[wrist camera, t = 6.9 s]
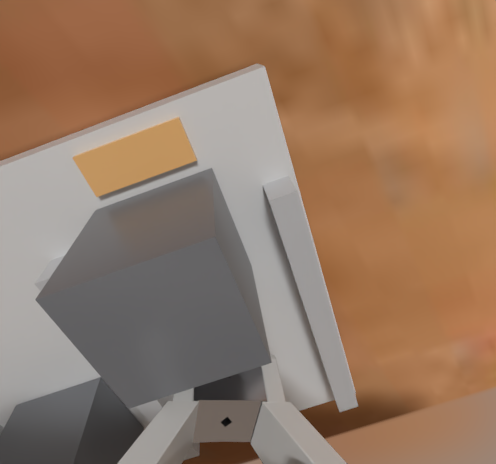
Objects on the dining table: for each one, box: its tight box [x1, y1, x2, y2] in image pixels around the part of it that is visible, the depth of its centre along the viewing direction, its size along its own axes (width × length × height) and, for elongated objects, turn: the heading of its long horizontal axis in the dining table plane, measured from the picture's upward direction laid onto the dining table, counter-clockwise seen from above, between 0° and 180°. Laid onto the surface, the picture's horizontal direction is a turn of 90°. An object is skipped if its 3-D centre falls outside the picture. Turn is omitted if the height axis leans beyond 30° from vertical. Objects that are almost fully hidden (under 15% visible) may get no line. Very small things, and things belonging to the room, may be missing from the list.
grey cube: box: [35, 168, 272, 409], centre depth 9 cm, size 4×4×4 cm
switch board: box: [0, 64, 358, 460], centre depth 13 cm, size 22×14×3 cm, turn 109°
